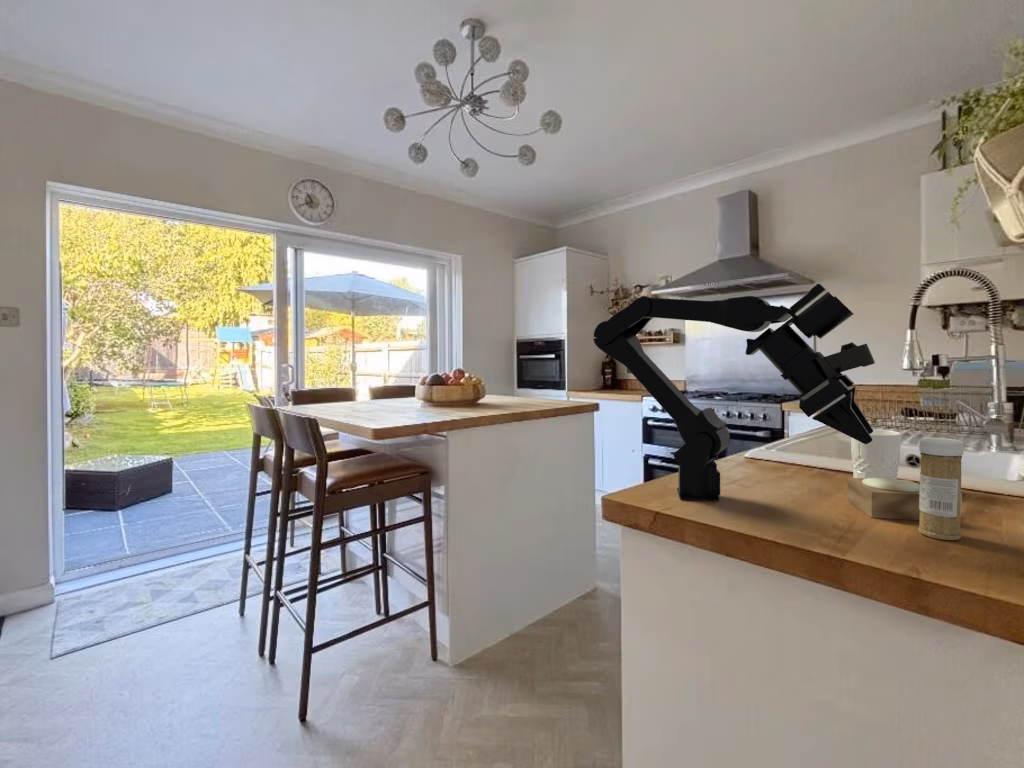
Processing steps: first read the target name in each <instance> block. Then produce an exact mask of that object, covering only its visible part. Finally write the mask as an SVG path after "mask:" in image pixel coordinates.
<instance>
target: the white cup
mask: <svg viewBox="0 0 1024 768" xmlns="http://www.w3.org/2000/svg"><path fill="white" fill-rule="evenodd" d="M872 429H873V432H872V433H871V434H869V435H870V436H871V438H872V441H871V442H870V443H868V444H864V443H862V442H860V441H858V440H856V439H854V438H852V437H850V446H851V447H850V450H851V452H850V453H851V454H850V455H851V463H852V464H851V466H852V467H851V468H852V470H853V473H852V474H853V477H852V478H888V479H898V472H899V467H900V458H901V444H902V434H903V433H901V432H900V431H895V430H888V429H880V428H879V429H878V428H872Z"/></svg>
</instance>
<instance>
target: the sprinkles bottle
mask: <svg viewBox="0 0 1024 768" xmlns="http://www.w3.org/2000/svg"><path fill="white" fill-rule="evenodd" d="M918 443H919V444H918V446H919V447H918V451H919V452H920V453H919V455H920V472H919V485H920V497H919V509H920V520H919V525H918V529H917V530H918V532H919V533H920V534H921V535H924V536H925V537H929V538H932V539H937V540H943V541H956V540H957V541H958V540H960V539H961V538H962V534H961V516H962V505H963V504H962V498H963V497H962V495H963V493H962V459H963V455H964V453H965V452H964V451H965V450H964V448H965V447H964V442H963V441H962V440H960V439H956V438H947V437H946V438H945V437H922V438H920V439H919V442H918Z"/></svg>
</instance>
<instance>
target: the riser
mask: <svg viewBox="0 0 1024 768" xmlns="http://www.w3.org/2000/svg"><path fill="white" fill-rule="evenodd" d="M846 496H847V502H849V503H850V504H852V505H853V506H854V507H855V508H857V509H859V510H860V511H862V513H864V514H866V515H867V516H868V517H870V518H871V519H872V518H875V519H891V520H909V521H911V520H912V521H920V509H919V497H920V483H917V482H915V481H913V480H910V479H898V478H897V479H888V478H853V477H847V495H846Z"/></svg>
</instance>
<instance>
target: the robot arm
mask: <svg viewBox="0 0 1024 768" xmlns="http://www.w3.org/2000/svg"><path fill="white" fill-rule="evenodd" d="M853 315H854V312H852V311H851V309H849V308H848V306H846V305H845V304H844V303H843V302H842V301H841V300H840V299H839V298H838V297H837V296H836V295H834V296H833V295H832V294H831V293H830V292H829V291H828V290H827V289H826V288H825V287H824V286H823V285H822V284H821V283H816V284H815V285H814V286H813V287H811V288H810V289H809V291H808V292H807V293H806V294H805V295H804V296H802V297H801V298H800V299H798V300H797V301H796V302H795V303H794V304H792V305H791V306H790V307H786V306H785V305H783V304H780V306H776V305H771V304H770V303H769V302H768V301H766V300H764V299H762V298H760V297H758V296H754V295H747V296H746V295H745V296H739V297H729V298H724V299H718V300H717V299H716V300H700V299H699V300H698V299H697V300H696V299H681V298H679V299H677V298H662V297H661V298H660V297H651V296H646V295H642V296H641V295H640V296H638V297H637V298H636V299H635V300H634V301H632V302H631V303H630V304H629V305H627V306H626V307H625V308H623V309H621V310H619V311H618V312H617V313H615V314H613V315H612V316H611V317H610V318H608V320H604V321H601V322H599V324H597V325H596V327H595V329H594V332H593V339H592V340H593V343H594V344H595V346H596V347H597V348H598V349H599V350H600V351H602V352H603V353H605V355H607V356H608V357H610V358H612V359H613V360H615V361H616V362H618V363H620V364H622V365H623V366H625V368H626V369H627V370H628V371H629V372H630V373H631V374H632V375H633V376H634V378H636V380H637V381H638V382H639V383H640V384H641V386H643V388H645V390H646V391H647V392H648V394H650V396H652V398H654V400H655V401H656V402H657V403H658V404H659V405H660V407H661V408H662V409H663V410H664V411H665V412H666V413H667V414H668V415H669V417H671V419H672V420H673V421H674V423H675V426H676V428H677V430H678V433H679V437H680V438H681V439H682V441H683V442H684V444H683V445H682V446H680V448H678V449H677V450H676V451H675V452H673V458H674V461H675V464H676V465H677V467H678V471H677V472H678V481H677V482H678V487H677V488H676V489H677V490H676V491H677V495H678V497H679V500H682V501H683V500H686V501H704V502H705V501H706V502H719V501H720V498H719V496H721V473H720V471H719V469H718V468H717V467H718V466H717V465H718V464H717V462H715V460H717V459H718V456H719V455H720V453H721V452H723V451H724V450H725V449H726V448H727V447H728V445H729V443H730V432H729V430H728V429H727V427H726V426H727V424H728V422H726V421H724V420H722V419H721V418H720V417H719V416H718V415H717V413H716V412H715V410H714V408H712V407H707V408H704V409H700V408H698V407H697V406H696V405H695V404H693V402H691V400H689V399H688V398H687V396H686V395H684V393H683V392H682V391H681V390H680V389H679V388H678V387H677V386H676V384H675V383H673V381H672V380H671V379H670V378H669V377H668V376H667V375H666V374H665V373H664V372H663V370H661V368H659V367H658V366H657V365H656V363H655V362H654V361H653V360H652V359H651V358H650V357H649V356H648V355H647V354H646V352H645V351H644V350H643V347H642V344H641V341H640V340H639V338H638V336H637V335H638V334H639V333H641V332H642V331H643V329H644V328H646V326H647V324H648V323H649V322H650V321H651V320H652V319H666V320H668V319H669V320H677V321H690V322H691V321H692V322H704V323H712V324H716V325H719V326H722V327H727V328H731V329H734V330H737V331H743V332H750V333H759V332H762V331H764V332H762V333H761V334H759V336H757V337H756V338H755V339H753V338H746V340H745V341H746V349H745V355H746V356H753V355H755V354H756V353H758V352H759V351H760V352H761V353H762V354H763V355H764V356H765V357H766V358H767V359H768V361H769V362H770V363H772V365H773V366H774V367H775V368H776V369H777V370H778V371H779V372H780V373H781V374H780V376H781V377H782V378H783V380H784V381H788V382H789V383H790V384H791V385H792V386H793V387H794V388H795V390H797V392H798V393H799V397H800V398H799V404H798V405H799V406H798V408H799V409H800V410H801V411H802V412H803V413H804V415H805V416H806V417H808V418H809V417H812V419H811V420H814V421H816V422H819V423H822V424H823V425H825V426H828V427H830V428H831V429H834V430H836V431H837V432H840V433H842V434H844V435H846V436H848V437H850V438H851V437H852V438H854V439H856V440H858V441H860V442H862V443H864V444H868V443H870V442H871V441H872V438H871V436H870V435H869V434H871V433H872V432H873V429H874V428H873V427H872V426H871V424H870V422H869V420H868V419H867V418H866V416H865V415H864V413H863V412H862V410H861V408H860V407H859V405H858V404H857V402H856V400H855V397H856V390H857V385H855V386H853V385H854V384H855V382H853V380H852V379H851V378H850V377H849V376H848V375H847V374H843V372H846V371H850V370H852V369H853V370H854V369H856V368H860V367H862V368H863V367H868V366H871V365H874V364H876V361H875V359H874V357H873V354H872V352H871V350H870V348H869V345H868V343H863V344H861V345H857V344H855V343H854V342H852V341H851V342H849V343H846V344H845V343H844V344H842V345H841V346H840V347H841V348H840V351H838V352H835V353H832V354H829V355H825V356H824V354H823V353H822V352H821V351H815V350H814V348H812V347H811V346H810V345H809V344H808V342H807V341H805V339H803V337H801V336H800V335H799V334H798V332H797V331H795V329H793V327H792V325H794V327H796V328H797V329H798V330H799V331H800V332H801V333H802V334H803V335H804V337H806V338H808V339H809V340H810V339H811V338H812V337H815V336H816V337H817V338H818V339H820V340H821V339H822V338H824V337H825V336H826V335H828V334H829V333H830V332H832V331H833V330H835V329H836V328H837V327H838V326H840V325H841V324H842V323H845V321H846V320H848V319H849V318H851V317H852V316H853ZM778 323H783V324H781V325H780V326H778V328H776V329H775V330H774V329H773V328H771V327H769V326H770V325H773V324H778ZM765 329H766V330H765ZM851 386H853V387H851ZM849 387H851V388H849ZM817 412H818V413H817ZM812 415H814V416H812Z"/></svg>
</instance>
